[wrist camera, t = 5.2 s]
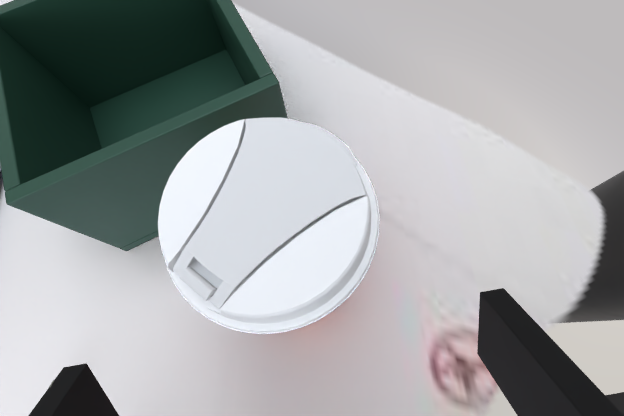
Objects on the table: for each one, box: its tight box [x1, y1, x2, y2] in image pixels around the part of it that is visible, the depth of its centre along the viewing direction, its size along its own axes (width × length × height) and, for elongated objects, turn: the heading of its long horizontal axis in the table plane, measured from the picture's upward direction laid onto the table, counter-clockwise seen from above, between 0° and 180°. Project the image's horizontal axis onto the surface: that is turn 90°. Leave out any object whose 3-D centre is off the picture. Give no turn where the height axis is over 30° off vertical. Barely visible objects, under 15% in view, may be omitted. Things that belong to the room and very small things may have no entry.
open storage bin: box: [0, 0, 288, 251], centre depth 24 cm, size 15×15×10 cm
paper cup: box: [158, 117, 380, 334], centre depth 17 cm, size 8×8×14 cm
